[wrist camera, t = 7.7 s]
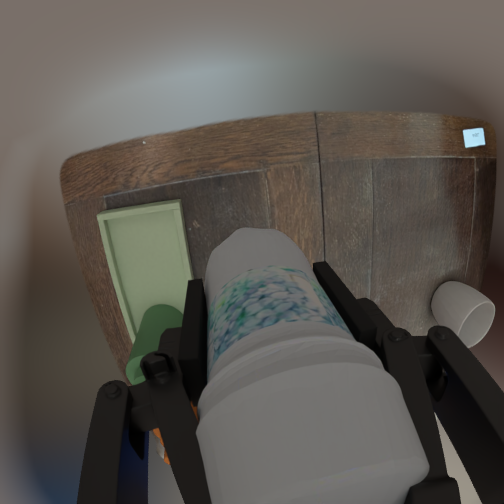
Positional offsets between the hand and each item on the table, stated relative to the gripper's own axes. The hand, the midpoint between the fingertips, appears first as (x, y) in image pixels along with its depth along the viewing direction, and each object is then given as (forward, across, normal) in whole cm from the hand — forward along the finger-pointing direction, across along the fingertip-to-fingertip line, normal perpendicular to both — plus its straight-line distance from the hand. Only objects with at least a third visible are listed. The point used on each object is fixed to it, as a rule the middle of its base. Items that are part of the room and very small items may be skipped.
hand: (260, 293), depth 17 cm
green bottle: (+22, -12, -15) cm, 29 cm away
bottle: (+4, 0, 0) cm, 4 cm away
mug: (+22, +35, -22) cm, 47 cm away
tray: (+22, -12, -15) cm, 30 cm away
